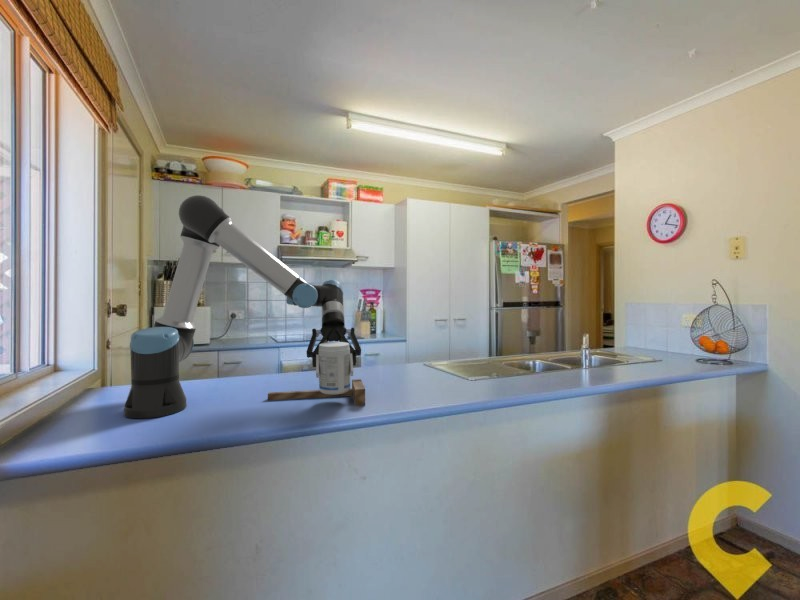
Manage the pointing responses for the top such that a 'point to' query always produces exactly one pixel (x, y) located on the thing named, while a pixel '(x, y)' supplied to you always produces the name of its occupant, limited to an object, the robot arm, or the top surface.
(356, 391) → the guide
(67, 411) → the top surface
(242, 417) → the top surface
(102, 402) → the top surface
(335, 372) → the supplement tub
